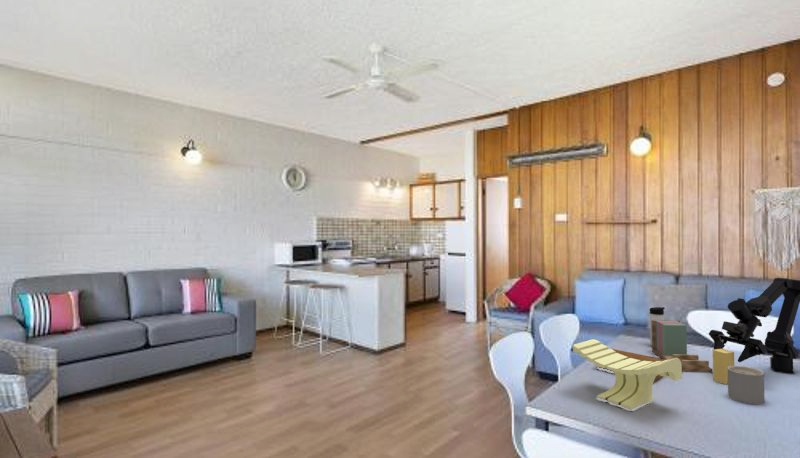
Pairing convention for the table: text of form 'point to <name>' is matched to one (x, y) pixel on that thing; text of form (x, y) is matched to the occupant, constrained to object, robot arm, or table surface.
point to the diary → (640, 357)
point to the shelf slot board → (681, 355)
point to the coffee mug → (746, 384)
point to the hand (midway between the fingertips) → (726, 358)
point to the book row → (671, 337)
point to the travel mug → (655, 317)
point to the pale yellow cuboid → (722, 364)
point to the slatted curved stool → (628, 373)
